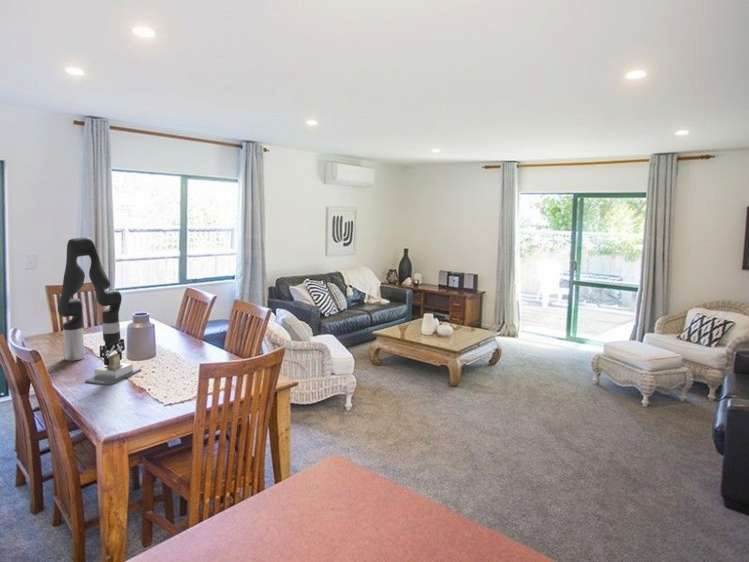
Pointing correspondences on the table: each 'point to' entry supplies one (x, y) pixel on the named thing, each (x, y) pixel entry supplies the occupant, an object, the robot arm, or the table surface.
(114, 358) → the wooden square peg
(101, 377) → the square peg board
